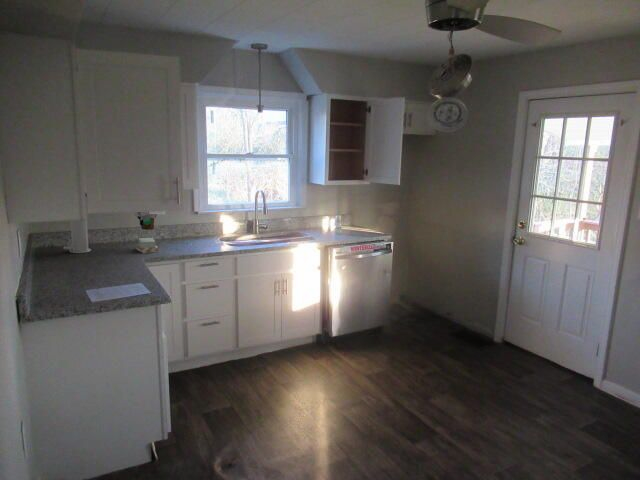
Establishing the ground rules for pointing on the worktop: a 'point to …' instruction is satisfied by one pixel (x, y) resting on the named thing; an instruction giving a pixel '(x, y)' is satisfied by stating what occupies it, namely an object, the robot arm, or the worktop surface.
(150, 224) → the food container
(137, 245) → the base slab
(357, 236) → the worktop surface
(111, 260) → the worktop surface
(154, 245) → the top slab
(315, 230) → the worktop surface
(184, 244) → the worktop surface
